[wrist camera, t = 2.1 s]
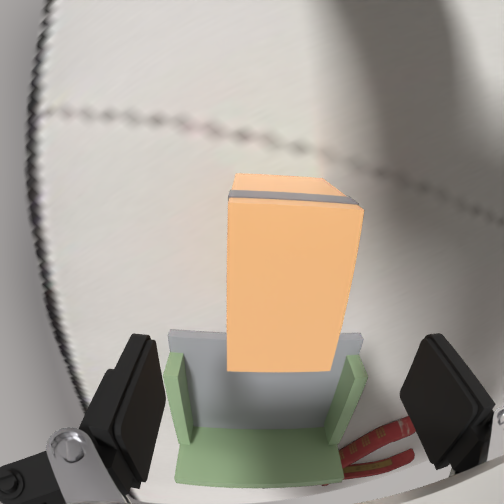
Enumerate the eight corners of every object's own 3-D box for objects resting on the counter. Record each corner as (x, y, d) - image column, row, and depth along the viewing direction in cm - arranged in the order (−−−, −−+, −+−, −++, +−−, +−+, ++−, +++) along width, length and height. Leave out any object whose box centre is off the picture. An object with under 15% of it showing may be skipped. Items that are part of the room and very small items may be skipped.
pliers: (241, 459, 30) (241, 477, 27) (413, 408, 27) (421, 425, 25) (272, 489, 34) (273, 504, 31) (410, 448, 31) (416, 463, 29)
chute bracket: (170, 329, 21) (147, 400, 15) (360, 332, 22) (390, 399, 15) (185, 424, 26) (176, 482, 20) (329, 425, 26) (341, 482, 20)
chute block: (235, 172, 17) (226, 201, 11) (323, 177, 17) (365, 209, 11) (232, 296, 20) (225, 371, 14) (308, 298, 21) (330, 371, 14)
